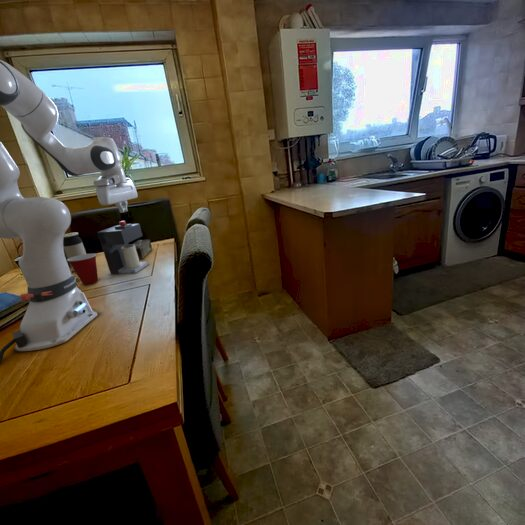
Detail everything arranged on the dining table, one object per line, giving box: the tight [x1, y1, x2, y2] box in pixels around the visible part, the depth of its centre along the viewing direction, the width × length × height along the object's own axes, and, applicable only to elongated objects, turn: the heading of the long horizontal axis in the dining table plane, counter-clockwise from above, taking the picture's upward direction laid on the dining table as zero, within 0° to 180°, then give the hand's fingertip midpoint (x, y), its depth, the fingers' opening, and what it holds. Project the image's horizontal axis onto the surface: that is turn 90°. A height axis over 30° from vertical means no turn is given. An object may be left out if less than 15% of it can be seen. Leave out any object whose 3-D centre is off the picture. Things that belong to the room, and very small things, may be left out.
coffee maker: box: [97, 223, 149, 276], centre depth 128 cm, size 13×12×21 cm
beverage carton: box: [131, 239, 153, 260], centre depth 151 cm, size 8×19×7 cm, turn 6°
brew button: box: [118, 220, 127, 226], centre depth 123 cm, size 2×2×2 cm
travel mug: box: [63, 232, 87, 272], centre depth 137 cm, size 8×8×18 cm
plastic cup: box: [67, 253, 99, 286], centre depth 119 cm, size 11×11×12 cm
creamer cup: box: [121, 244, 141, 268], centre depth 129 cm, size 6×6×10 cm
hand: (124, 212), depth 121 cm, fingers closed
